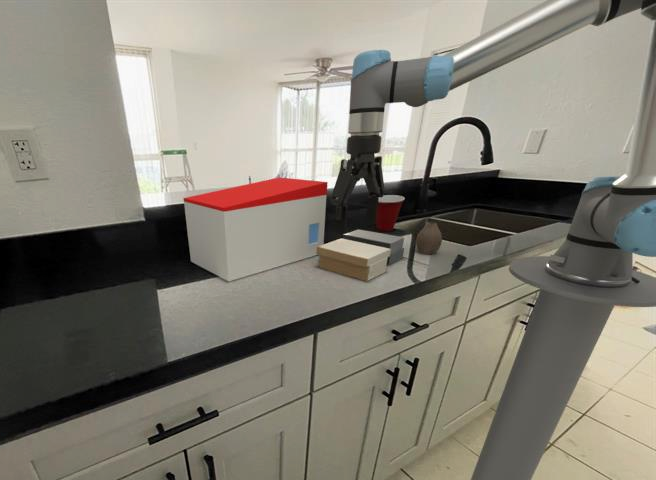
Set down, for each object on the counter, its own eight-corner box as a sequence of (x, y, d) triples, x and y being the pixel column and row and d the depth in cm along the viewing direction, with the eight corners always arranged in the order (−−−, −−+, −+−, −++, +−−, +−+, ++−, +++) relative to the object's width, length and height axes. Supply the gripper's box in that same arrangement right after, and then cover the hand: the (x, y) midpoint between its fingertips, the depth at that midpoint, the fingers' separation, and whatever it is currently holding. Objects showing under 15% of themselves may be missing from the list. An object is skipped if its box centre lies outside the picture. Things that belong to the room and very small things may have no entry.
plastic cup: (363, 229, 128) (367, 197, 123) (380, 225, 134) (384, 194, 129) (388, 234, 120) (393, 200, 115) (405, 229, 126) (411, 197, 121)
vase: (427, 257, 97) (433, 227, 94) (409, 250, 103) (413, 222, 99) (444, 253, 100) (451, 224, 96) (426, 247, 105) (431, 219, 102)
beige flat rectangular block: (389, 256, 87) (391, 248, 86) (366, 267, 80) (367, 259, 79) (341, 245, 97) (341, 238, 96) (316, 253, 90) (316, 246, 89)
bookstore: (323, 252, 103) (328, 181, 94) (228, 281, 84) (222, 196, 76) (279, 239, 118) (279, 177, 109) (190, 261, 99) (182, 188, 91)
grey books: (403, 258, 97) (406, 237, 95) (388, 265, 92) (391, 244, 89) (357, 247, 108) (359, 229, 105) (341, 253, 102) (343, 234, 100)
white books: (385, 272, 87) (387, 257, 86) (367, 281, 82) (368, 266, 80) (337, 259, 98) (338, 246, 96) (318, 266, 92) (318, 253, 91)
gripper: (378, 134, 86) (369, 217, 95) (316, 136, 71) (313, 234, 80) (406, 133, 81) (394, 221, 90) (347, 135, 66) (339, 240, 75)
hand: (356, 227), depth 85 cm, fingers open, 13 cm apart
